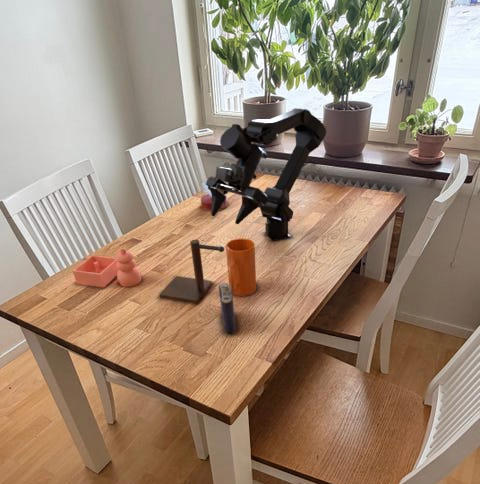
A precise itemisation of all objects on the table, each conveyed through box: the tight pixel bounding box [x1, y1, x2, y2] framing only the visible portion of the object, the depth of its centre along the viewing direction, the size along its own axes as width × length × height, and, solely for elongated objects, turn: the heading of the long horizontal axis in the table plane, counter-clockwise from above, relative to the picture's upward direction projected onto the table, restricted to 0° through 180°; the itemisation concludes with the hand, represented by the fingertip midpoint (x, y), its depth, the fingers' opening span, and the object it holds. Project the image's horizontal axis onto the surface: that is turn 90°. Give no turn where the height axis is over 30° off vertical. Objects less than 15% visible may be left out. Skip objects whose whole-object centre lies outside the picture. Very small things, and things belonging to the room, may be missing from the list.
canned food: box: [200, 181, 228, 212], centre depth 164 cm, size 11×10×10 cm
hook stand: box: [158, 239, 225, 304], centre depth 112 cm, size 10×18×15 cm, turn 70°
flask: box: [218, 282, 237, 336], centre depth 101 cm, size 9×3×11 cm, turn 8°
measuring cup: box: [225, 238, 257, 297], centre depth 111 cm, size 11×7×13 cm, turn 160°
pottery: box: [72, 248, 142, 288], centre depth 122 cm, size 18×10×10 cm, turn 72°
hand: (224, 219), depth 120 cm, fingers open, 9 cm apart
